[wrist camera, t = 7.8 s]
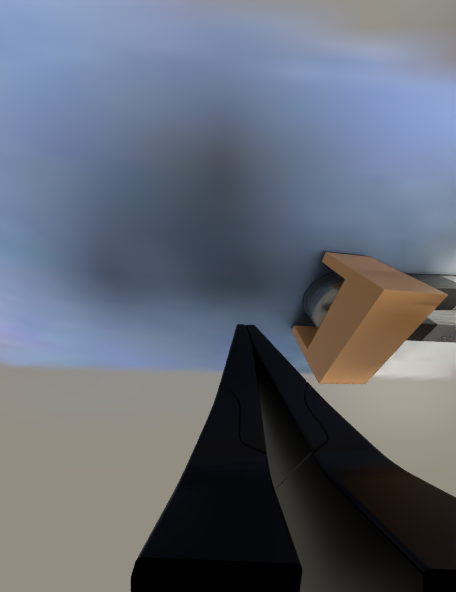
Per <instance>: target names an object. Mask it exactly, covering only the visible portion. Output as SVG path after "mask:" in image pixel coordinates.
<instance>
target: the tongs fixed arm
mask: <svg viewBox="0 0 456 592" xmlns="http://www.w3.org/2000/svg"><path fill="white" fill-rule="evenodd" d="M344 280H345V279H344V278H343V277H342V276H340V275H339V274H338V273H336V272H332V273H329V274H326V275H324V276H322V277H320V278H319V279H317V280H316V281H315V282H314V283H313V284H312V285H311V286H310V287H309V288H308V289H307V291H306V293H305V295H304V298H303V308H304V310H305V312H306V313H307V315H308V316H309V317H310V319H311V320H312V322H313V323H314V325H315V326H316V327H317V329H319V327H320V325H321V323H322V321H323V320H324V318H325V316H326V314H327V312H328V310H329V308H330V307H331V305H332V303H333V301H334V299H335V297H336V295H337V293H338V292H339V290H340V288H341V286H342V284H343V282H344ZM407 340H412V341H436V342H456V310H434V311H433V312H432V313H431V314H430V315H429V316H428V317H427V318H426V319H425V320H424V321H423V322H422V324H421V325H420V326H419V327H418V328H417V329H416V330H415V331H414V332H413V333H412V334H411V335H410V336H409V337H408V338H407Z"/></svg>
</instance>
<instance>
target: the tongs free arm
mask: <svg viewBox="0 0 456 592" xmlns="http://www.w3.org/2000/svg"><path fill="white" fill-rule="evenodd" d="M409 276H411V277H413V278H415V279H417V280H419V281H421V282H423V283H425V284H427V285H430V286H432V287H434V288H436V289H438V290H440V291H442V292H444V293H446V294H448V296H447V297H446V298H445V299H444V300H443V301H442V302H441V303H440V304H439V305H438V306H437V307H436V309H435V310H456V276H438V275H409Z"/></svg>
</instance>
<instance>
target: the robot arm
mask: <svg viewBox="0 0 456 592" xmlns="http://www.w3.org/2000/svg"><path fill="white" fill-rule="evenodd" d="M131 592H456V497H454V496H452V495H450V494H448V493H446V492H444V491H442V490H441V489H439V488H437V487H435V486H433V485H431V484H429V483H427V482H426V481H424V480H422V479H420V478H418V477H416V476H414V475H412V474H411V473H409V472H407V471H405V470H404V469H402V468H401V467H399V466H398V465H396V464H395V463H393V462H392V461H391V460H389V459H388V458H387V457H386V456H384V455H383V454H382V453H381V452H380V451H379V450H378V449H376V448H375V447H374V446H373V445H372V444H371V443H370V442H369V441H368V440H367V439H366V438H365V437H363V436H362V435H361V434H360V433H359V432H358V431H357V430H356V429H355V428H354V427H353V426H351V424H349V423H348V422H347V421H346V420H345V419H344V418H343V417H342V416H341V415H340V414H339V413H338V412H337V411H336V410H334V409H333V408H332V407H331V406H330V405H329V404H328V403H327V402H326V401H325V400H324V399H323V398H322V397H321V396H320V395H319V394H318V393H317V392H316V391H315V389H313V387H312V386H311V385H310V384H309V383H308V382H306V380H305V379H304V378H303V377H302V376H301V375H300V373H299V372H298V371H297V370H296V369H295V368H294V367H293V366H292V365H291V364H290V363H289V362H288V361H287V360H286V358H285V357H284V356H283V355H282V354H281V353H280V352H279V351H278V350H277V349H276V348H275V347H274V346H273V345H272V343H271V342H270V341H269V340H268V339H267V338H266V337H265V336H264V335H263V334H262V333H261V332H260V331H259V329H258V328H257V327H256V326H255V325H244V324H238V325H237V326H236V330H235V333H234V337H233V340H232V344H231V347H230V351H229V354H228V358H227V361H226V365H225V368H224V372H223V375H222V379H221V382H220V385H219V388H218V392H217V395H216V398H215V401H214V404H213V406H212V409H211V411H210V414H209V416H208V419H207V421H206V424H205V426H204V428H203V430H202V432H201V435H200V437H199V439H198V441H197V444H196V446H195V448H194V450H193V453H192V455H191V457H190V459H189V462H188V464H187V466H186V468H185V470H184V472H183V474H182V477H181V479H180V481H179V483H178V484H177V487H176V488H175V490H174V492H173V494H172V496H171V498H170V500H169V501H168V503H167V505H166V507H165V509H164V511H163V512H162V514H161V516H160V518H159V520H158V522H157V523H156V525H155V527H154V529H153V531H152V533H151V534H150V536H149V538H148V540H147V542H146V543H145V545H144V547H143V549H142V551H141V552H140V554H139V556H138V558H137V560H136V562H135V565H134V569H133V572H132V576H131Z"/></svg>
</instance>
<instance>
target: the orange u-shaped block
mask: <svg viewBox="0 0 456 592" xmlns="http://www.w3.org/2000/svg"><path fill="white" fill-rule="evenodd" d="M322 262H323V263H324V264H326V265H327V266H328V267H330V268H331V269H332V270H334V271H335V272H336V273H338V274H339V275H340V276H342V277H343V278H344V279H345V280H344V282H343V284H342V286H341V288H340V290H339V292H338V293H337V295H336V297H335V299H334V301H333V303H332V305H331V307H330V308H329V310H328V312H327V314H326V316H325V318H324V320H323V321H322V323H321V325H320V327H319V329H317V327H315V326H294V327H293V329H292V333H293V335H294V337H295V339H296V341H297V342H298V344H299V346H300V348H301V350H302V352H303V354H304V356H305V358H306V360H307V362H308V364H309V366H310V367H311V369H312V371H313V373H314V375H315V377H316V379H317V381H318V383H319V384H365V383H366V382H367V381H368V380H369V379H370V378H371V377H372V376H373V375H374V374H375V373H376V372H377V371H378V370H379V368H380V367H381V366H382V365H383V364H384V363H385V362H386V361H387V360H388V359H389V358H390V357H391V356H392V355H393V353H394V352H395V351H396V350H397V349H398V348H399V347H400V346H401V345H402V344H403V343H404V342H405V341H406V340H407V338H408V337H409V336H410V335H411V334H412V333H413V332H414V331H415V330H416V329H417V328H418V327H419V326H420V325H421V324H422V322H423V321H424V320H425V319H426V318H427V317H428V316H429V315H430V314H431V313H432V312H433V311H434V310H435V309H436V307H437V306H438V305H439V304H440V303H441V302H442V301H443V300H444V299H445V298H446V297H447V296H448V294H446V293H444V292H442V291H440V290H438V289H436V288H434V287H432V286H430V285H427V284H425V283H423V282H421V281H419V280H417V279H415V278H413V277H411V276H409V275H407V274H405V273H403V272H401V271H399V270H397V269H395V268H393V267H391V266H389V265H387V264H384V263H382V262H380V261H378V260H376V259H374V258H372V257H367V256H358V255H348V254H339V253H330V252H326V253H325V255H324V258H323V260H322Z"/></svg>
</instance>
